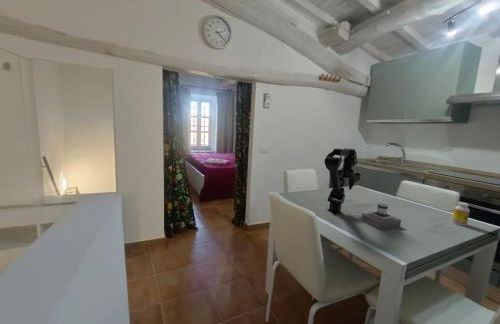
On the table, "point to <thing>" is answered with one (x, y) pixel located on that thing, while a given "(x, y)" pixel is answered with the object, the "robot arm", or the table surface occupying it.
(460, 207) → the supplement bottle
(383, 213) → the lens
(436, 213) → the table surface
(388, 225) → the grey flat block
